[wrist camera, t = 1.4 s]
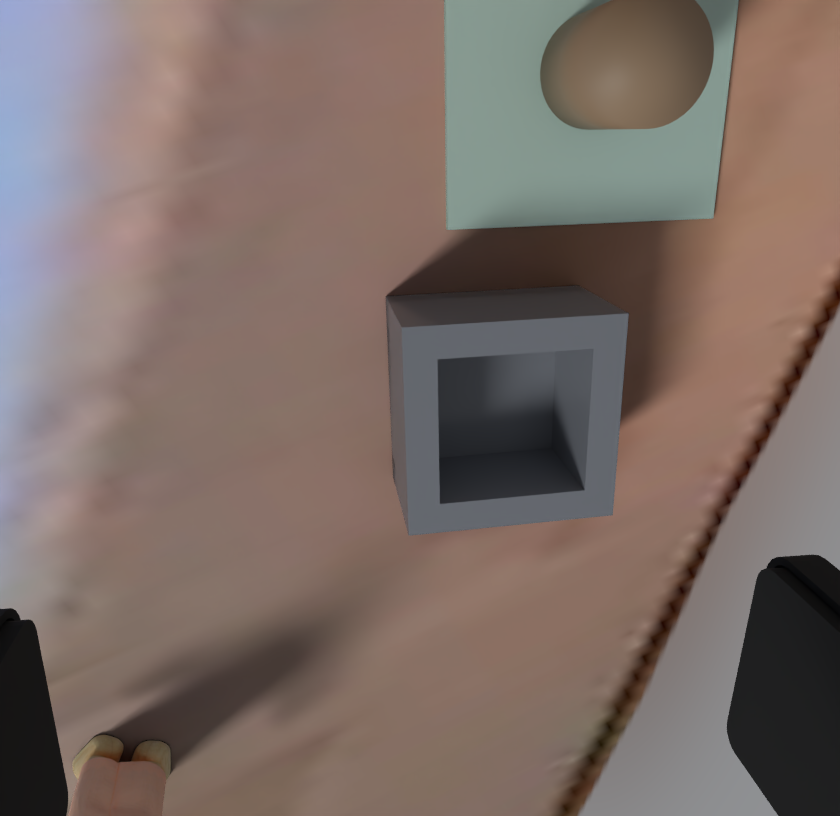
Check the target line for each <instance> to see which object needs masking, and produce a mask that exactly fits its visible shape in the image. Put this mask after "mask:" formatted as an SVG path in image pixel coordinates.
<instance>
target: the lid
mask: <svg viewBox="0 0 840 816" xmlns="http://www.w3.org/2000/svg"><path fill="white" fill-rule="evenodd" d="M738 2H739V0H444V43H445V150H446V229H447V230H456V229H479V228H502V227H526V226H549V225H572V224H595V223H618V222H641V221H665V220H688V219H711V218H713V216H714V207H715V198H716V190H717V181H718V173H719V164H720V156H721V147H722V139H723V130H724V122H725V113H726V105H727V96H728V88H729V79H730V71H731V62H732V53H733V45H734V36H735V28H736V19H737V11H738Z"/></svg>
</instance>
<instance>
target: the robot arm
mask: <svg viewBox="0 0 840 816" xmlns="http://www.w3.org/2000/svg"><path fill="white" fill-rule="evenodd" d="M727 733H728V737H729V741H730V744H731V747H732V749H733V750H734V752H735V754H736V755H737V757H738V758H739V760H740V761H741V763H742V764H743V765H744V767H745V768H746V770H747V771H748V773H749V774H750V775H751V777H752V778H753V780H754V781H755V783H756V784H757V785H758V787H759V788H760V790H761V791H762V793H763V794H764V795H765V797H766V798H767V800H768V801H769V803H770V804H771V806H772V807H773V809H774V810H775V811H776V813H777V814H778V816H840V571H839V570H838V569H837V568H836V567H835V566H833V565H832V564H831V563H830V562H828V561H827V560H826V559H824V558H822V557H821V556H819V555H801V556H789V557H776V558H774V559H772V560H771V561H770V563H769V564H768V566H767V569H764V570H761V572H760V573H759V574H758V577H757V581H756V585H755V590H754V595H753V600H752V604H751V609H750V614H749V619H748V624H747V628H746V633H745V638H744V643H743V648H742V653H741V657H740V663H739V667H738V672H737V677H736V682H735V687H734V692H733V696H732V701H731V706H730V711H729V715H728V721H727ZM67 806H68V789H67V783H66V778H65V773H64V768H63V763H62V758H61V753H60V748H59V742H58V737H57V732H56V727H55V722H54V717H53V712H52V707H51V702H50V696H49V691H48V686H47V681H46V676H45V671H44V666H43V661H42V656H41V650H40V645H39V640H38V635H37V630H36V627H35V624H34V623H33V621H31V620H20V617H19V615H18V613H17V612H16V610H14V609H11V608H10V609H0V816H66V813H67Z"/></svg>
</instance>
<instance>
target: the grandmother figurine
mask: <svg viewBox="0 0 840 816" xmlns="http://www.w3.org/2000/svg"><path fill="white" fill-rule="evenodd" d="M123 749H124V747H123V744H122V742H121V741H120V740H119V739H117V738H115V737H112V736H108V735H99V736H96V737H94V738H93V739H92V740H91V741H90V742H89V743H88V744H87V745H86V746H85V747H84V748H83V749H82V750H81V751H80V752H79V754H78V755H77V756H76V757H75V759H74V760H73V772H74V774H75V776H76V778H77V779H78V782H77V785H76V788H75V791H74V794H73V798H72V803H71V807H70V811H69V815H68V816H162V809H163V799H164V791H165V784H166V780H167V779H168V777H169V775H170V771H171V751H170V748H169V746H168V745H167V744H165V743H163V742H161V741H145V742H142V743H141V744H139V745H138V746H137V748H136V750H135V752H134V755H133V757H132V760H131V762H119V760H120V757H121V755H122V753H123Z"/></svg>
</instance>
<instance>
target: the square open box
mask: <svg viewBox="0 0 840 816" xmlns="http://www.w3.org/2000/svg"><path fill="white" fill-rule="evenodd" d="M628 316H629V313H627V312H625V311H624V310H622V309H620V308H618V307H616V306H615V305H613V304H611V303H609V302H607V301H606V300H604V299H602V298H600V297H598V296H597V295H595V294H593V293H591V292H589V291H588V290H586V289H584V288H582V287H580V286H579V285H576V286H559V287H541V288H523V289H506V290H488V291H470V292H453V293H435V294H417V295H399V296H386V317H387V341H388V365H389V389H390V413H391V437H392V461H393V478H394V482H395V486H396V490H397V493H398V497H399V501H400V505H401V508H402V512H403V516H404V520H405V523H406V527H407V531H408V535H419V534H429V533H439V532H449V531H459V530H469V529H479V528H489V527H499V526H509V525H519V524H529V523H539V522H549V521H559V520H569V519H579V518H589V517H599V516H608V515H613V504H614V491H615V479H616V466H617V454H618V441H619V429H620V416H621V404H622V391H623V379H624V366H625V354H626V341H627V329H628Z"/></svg>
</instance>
